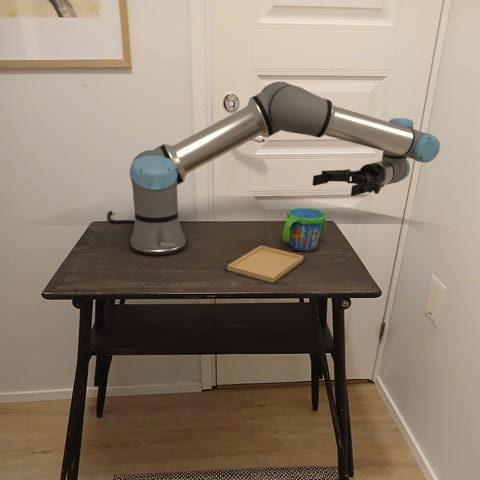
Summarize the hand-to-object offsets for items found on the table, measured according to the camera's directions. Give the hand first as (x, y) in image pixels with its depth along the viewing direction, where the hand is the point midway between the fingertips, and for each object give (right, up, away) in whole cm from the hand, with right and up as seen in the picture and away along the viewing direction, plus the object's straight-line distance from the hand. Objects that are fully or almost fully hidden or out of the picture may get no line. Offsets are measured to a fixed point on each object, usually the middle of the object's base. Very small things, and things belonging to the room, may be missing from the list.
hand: (332, 185), depth 137 cm
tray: (-19, -24, -10) cm, 32 cm away
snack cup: (-8, -17, +2) cm, 19 cm away
